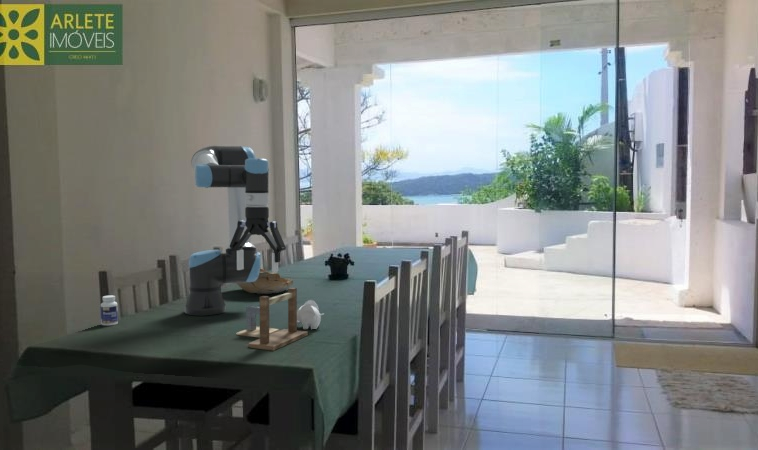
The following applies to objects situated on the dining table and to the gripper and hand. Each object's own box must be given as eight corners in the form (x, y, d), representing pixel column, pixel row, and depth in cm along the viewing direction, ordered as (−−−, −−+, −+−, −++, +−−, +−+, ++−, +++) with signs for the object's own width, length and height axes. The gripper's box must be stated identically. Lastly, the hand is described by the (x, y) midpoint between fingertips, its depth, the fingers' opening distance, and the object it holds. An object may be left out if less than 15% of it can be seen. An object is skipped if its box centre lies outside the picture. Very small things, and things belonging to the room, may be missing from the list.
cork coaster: (236, 334, 197) (236, 332, 197) (254, 328, 206) (254, 326, 206) (262, 337, 193) (262, 336, 193) (279, 330, 202) (279, 329, 202)
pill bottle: (101, 326, 207) (100, 298, 206) (100, 323, 212) (99, 295, 211) (118, 324, 210) (117, 297, 209) (117, 321, 214) (116, 294, 214)
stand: (273, 350, 178) (273, 299, 177) (248, 347, 182) (247, 296, 181) (307, 335, 197) (307, 288, 196) (284, 332, 200) (283, 286, 199)
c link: (246, 330, 200) (246, 306, 199) (251, 328, 202) (251, 305, 202) (264, 333, 197) (264, 308, 196) (269, 331, 200) (269, 307, 199)
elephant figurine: (291, 324, 212) (291, 299, 212) (326, 324, 212) (326, 299, 211) (287, 330, 203) (286, 304, 202) (322, 331, 202) (322, 305, 202)
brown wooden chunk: (307, 286, 278) (303, 255, 275) (267, 307, 256) (262, 273, 253) (259, 282, 294) (254, 253, 291) (218, 301, 272) (212, 269, 269)
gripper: (218, 205, 198) (219, 270, 200) (283, 207, 188) (283, 275, 190) (232, 205, 205) (233, 267, 207) (296, 206, 195) (296, 271, 197)
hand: (257, 271), depth 198 cm, fingers open, 13 cm apart
